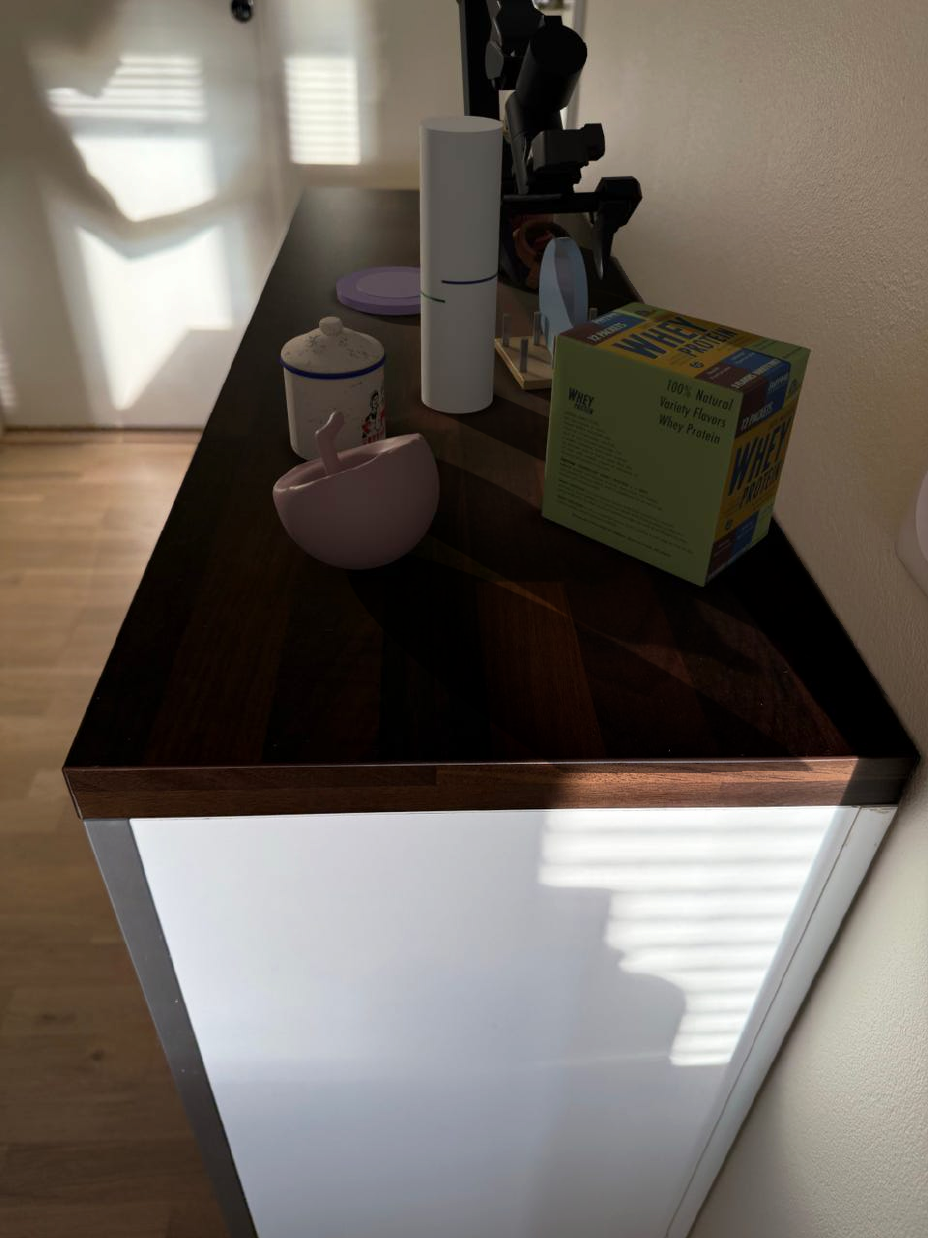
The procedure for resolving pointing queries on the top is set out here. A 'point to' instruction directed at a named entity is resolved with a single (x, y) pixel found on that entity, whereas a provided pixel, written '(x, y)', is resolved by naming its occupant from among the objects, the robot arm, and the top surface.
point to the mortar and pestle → (360, 499)
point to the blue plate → (562, 289)
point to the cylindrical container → (459, 259)
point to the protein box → (669, 436)
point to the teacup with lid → (334, 387)
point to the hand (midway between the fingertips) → (561, 280)
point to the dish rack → (529, 354)
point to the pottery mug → (525, 242)
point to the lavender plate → (382, 290)
